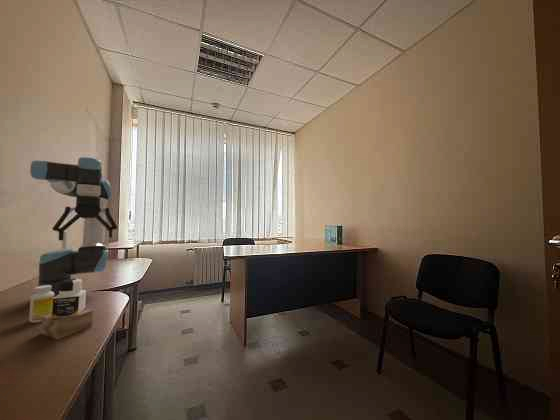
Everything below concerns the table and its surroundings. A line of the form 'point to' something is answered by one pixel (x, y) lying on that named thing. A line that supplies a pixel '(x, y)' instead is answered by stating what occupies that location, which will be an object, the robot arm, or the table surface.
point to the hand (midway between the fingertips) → (86, 247)
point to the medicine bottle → (69, 299)
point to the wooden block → (66, 324)
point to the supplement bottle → (41, 303)
